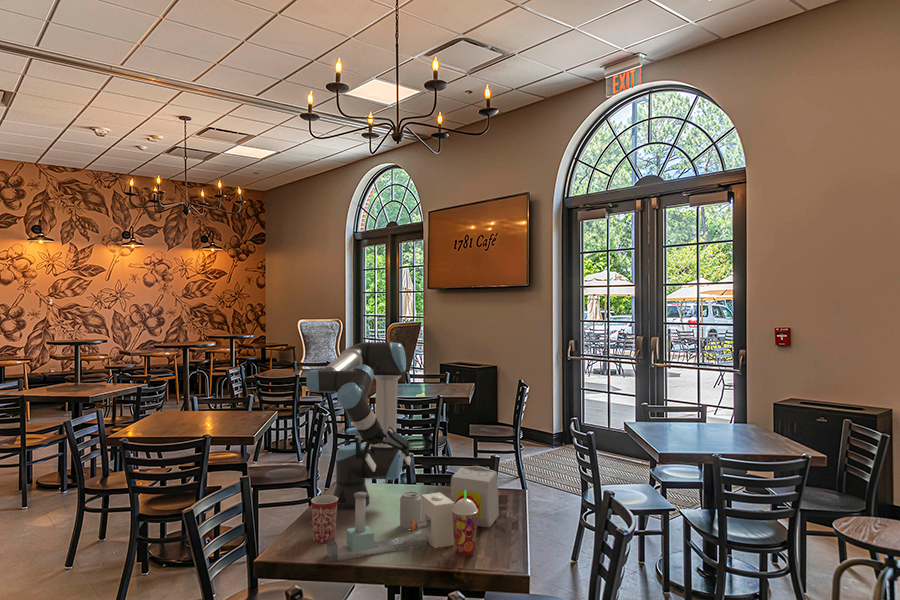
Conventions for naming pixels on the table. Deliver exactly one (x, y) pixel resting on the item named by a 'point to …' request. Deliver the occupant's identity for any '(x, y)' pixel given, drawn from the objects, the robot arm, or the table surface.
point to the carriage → (360, 527)
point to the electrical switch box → (477, 491)
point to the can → (410, 508)
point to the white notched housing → (438, 519)
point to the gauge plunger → (419, 525)
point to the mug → (324, 517)
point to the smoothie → (465, 526)
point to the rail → (379, 546)
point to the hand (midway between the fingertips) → (391, 465)
